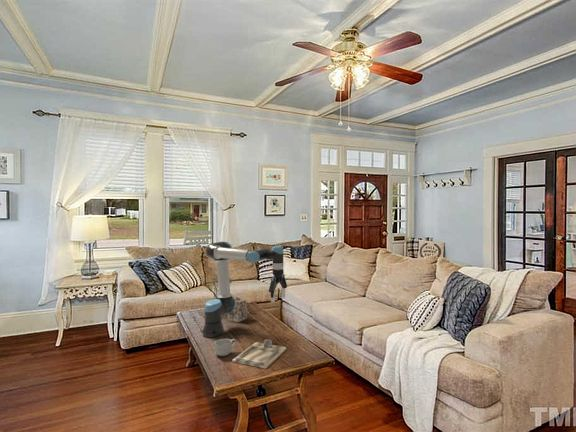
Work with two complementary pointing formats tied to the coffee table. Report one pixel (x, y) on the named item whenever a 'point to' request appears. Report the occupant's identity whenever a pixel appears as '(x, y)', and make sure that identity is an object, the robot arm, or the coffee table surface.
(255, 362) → the carrier board
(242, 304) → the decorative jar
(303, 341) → the coffee table surface
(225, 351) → the teacup
